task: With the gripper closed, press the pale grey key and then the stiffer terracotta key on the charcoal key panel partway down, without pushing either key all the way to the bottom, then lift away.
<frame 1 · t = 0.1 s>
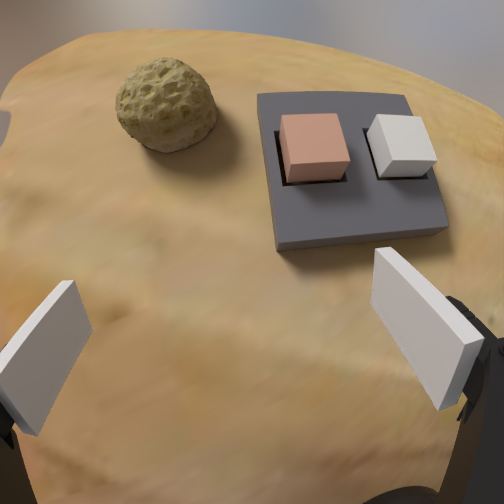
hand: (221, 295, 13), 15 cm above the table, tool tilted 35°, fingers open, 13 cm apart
key soft: (401, 146, 27), point 4 cm above the table, slide at 0.0 cm
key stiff: (312, 147, 27), point 4 cm above the table, slide at 0.0 cm
key panel: (347, 167, 31), on the table
rock: (172, 122, 33), on the table
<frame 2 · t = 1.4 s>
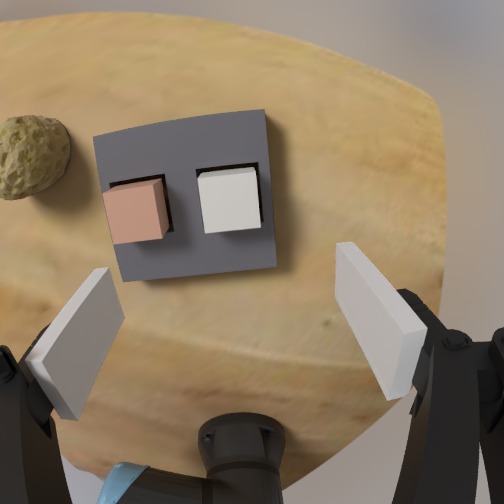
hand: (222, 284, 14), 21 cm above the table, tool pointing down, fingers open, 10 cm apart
key soft: (229, 198, 29), point 4 cm above the table, slide at 0.0 cm
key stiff: (137, 210, 29), point 4 cm above the table, slide at 0.0 cm
key panel: (188, 194, 33), on the table
rock: (38, 154, 30), on the table
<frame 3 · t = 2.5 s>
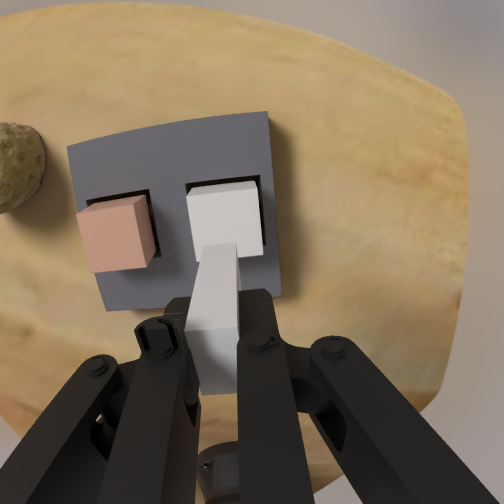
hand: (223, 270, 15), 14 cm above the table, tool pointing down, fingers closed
key soft: (226, 219, 24), point 4 cm above the table, slide at 0.0 cm
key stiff: (117, 233, 24), point 4 cm above the table, slide at 0.0 cm
key panel: (178, 212, 28), on the table
rock: (13, 165, 25), on the table
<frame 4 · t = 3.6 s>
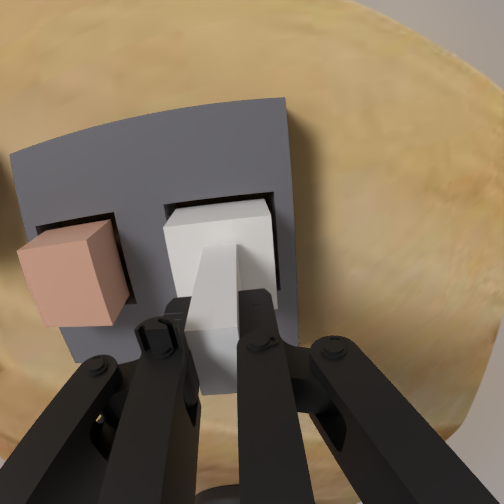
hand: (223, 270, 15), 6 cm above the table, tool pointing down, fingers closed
key soft: (224, 256, 17), point 4 cm above the table, slide at 0.3 cm, touching gripper
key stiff: (74, 274, 17), point 4 cm above the table, slide at 0.0 cm
key panel: (159, 240, 21), on the table
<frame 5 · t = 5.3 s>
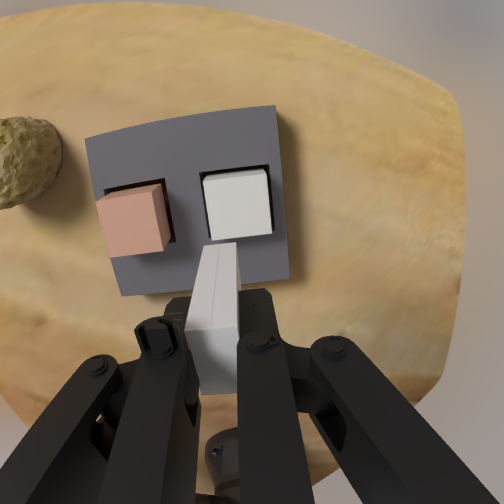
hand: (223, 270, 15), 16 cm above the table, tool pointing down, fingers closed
key soft: (238, 202, 27), point 3 cm above the table, slide at 1.0 cm
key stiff: (134, 220, 26), point 4 cm above the table, slide at 0.0 cm
key panel: (191, 200, 30), on the table
rock: (28, 158, 27), on the table
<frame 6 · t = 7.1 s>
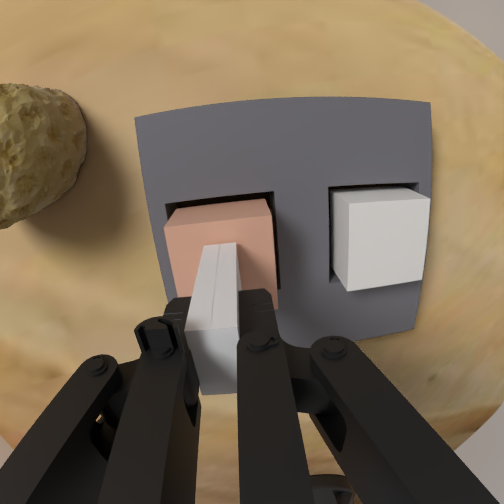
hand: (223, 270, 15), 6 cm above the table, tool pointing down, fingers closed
key soft: (377, 234, 18), point 3 cm above the table, slide at 1.0 cm
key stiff: (224, 256, 17), point 4 cm above the table, slide at 0.2 cm, touching gripper
key panel: (294, 224, 21), on the table
rock: (32, 150, 18), on the table
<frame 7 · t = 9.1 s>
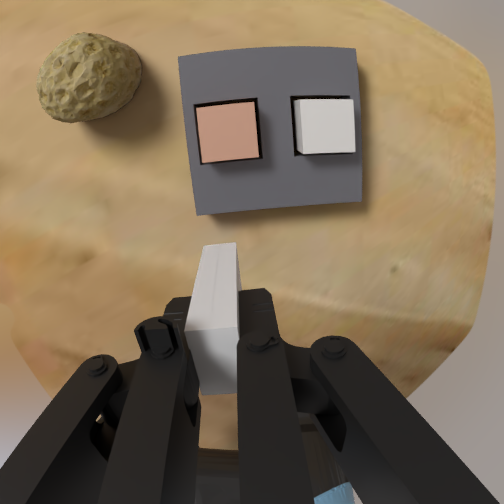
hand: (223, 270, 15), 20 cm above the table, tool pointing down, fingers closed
key soft: (323, 125, 28), point 3 cm above the table, slide at 1.0 cm
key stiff: (228, 131, 28), point 3 cm above the table, slide at 1.0 cm
key panel: (272, 125, 31), on the table
rock: (100, 80, 28), on the table
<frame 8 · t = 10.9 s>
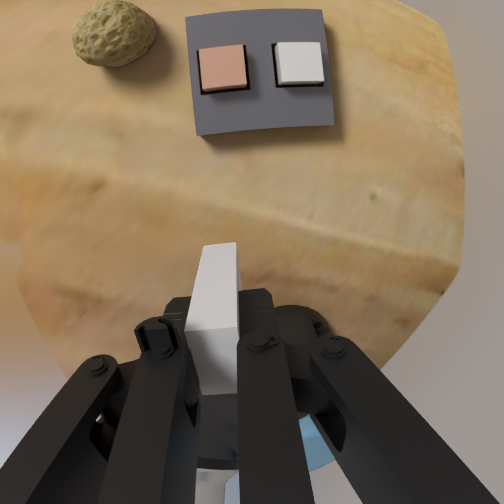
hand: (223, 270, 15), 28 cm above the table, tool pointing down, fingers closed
key soft: (298, 63, 33), point 3 cm above the table, slide at 1.0 cm
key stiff: (223, 68, 33), point 3 cm above the table, slide at 1.0 cm
key panel: (259, 70, 36), on the table
rock: (121, 39, 33), on the table
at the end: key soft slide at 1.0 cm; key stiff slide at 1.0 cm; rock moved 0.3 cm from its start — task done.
